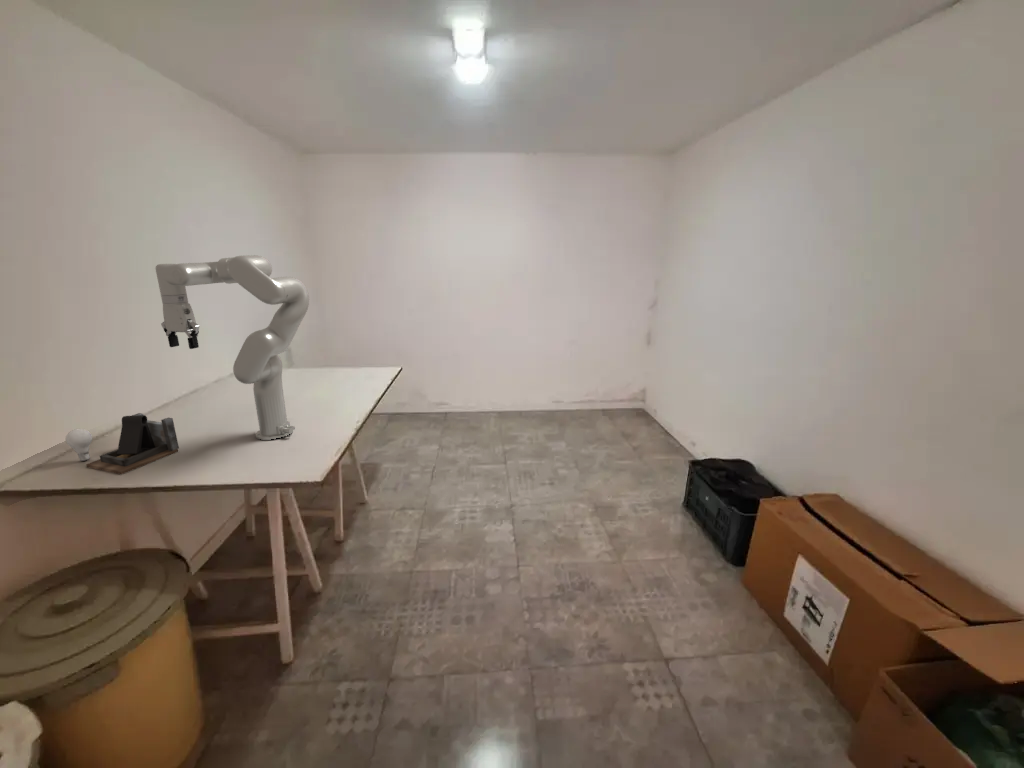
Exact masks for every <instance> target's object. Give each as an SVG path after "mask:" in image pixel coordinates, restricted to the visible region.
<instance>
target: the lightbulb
mask: <svg viewBox="0 0 1024 768" xmlns="http://www.w3.org/2000/svg"><path fill="white" fill-rule="evenodd" d="M92 441H93V435H92V433H91V432H90V431H89V430H88V429H85V428H75V429H72V430H70V431H68V433H67V434H66V436H65V443H66V444H67V446H69V447H70V448H71V449H73V450H74V452H75V453H76V454H77V456H78V459H79V461H81V462H86V460H87V461H89V460H90V459H91V457H90V452H89V451H90V445H91V443H92Z"/></svg>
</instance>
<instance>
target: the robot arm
mask: <svg viewBox="0 0 1024 768" xmlns="http://www.w3.org/2000/svg"><path fill="white" fill-rule="evenodd" d="M272 272H273V266H272V264H271V262H270V261H269V260H268V259H267V258H266V257H263V256H261V255H255V254H254V255H252V254H251V255H237V256H234V257H224V258H220V259H219V260H218V261H209V262H188V263H187V262H185V263H184V262H183V263H160V264H156V265H155V273H156V277H157V278H156V279H157V282H158V283H157V284H158V289H159V293H160V298H161V303H162V314H163V321H162V323H160V324H161V327H162V329H163V332H165V336H166V337H167V340H168V341H167V342H168V344H169V347H170V348H174V347H175V348H176V347H178V346H180V341H179V337H178V334H177V333H185V334H186V336H187V343H188V348H189V349H190V350H192V349H198V348H200V347H199V341H198V337H199V333H200V332H199V331H200V325H199V324H197V323H196V318H195V314H194V311H193V309H192V305H191V304H190V303H189V298H188V295H187V289H186V287H190V286H200V285H210V284H211V285H212V284H223V283H225V284H228V285H231V284H237V285H239V286H241V287H242V288H243V289H245V290H246V292H249V294H251V295H252V296H253V297H254V298H256V299H258V300H259V301H260V302H262V303H265V304H266V305H271V306H272V305H279V304H280V305H281V306H279V308H278V309H277V311H275V312H274V314H273V317H272V319H271V321H270V322H269V324H268V326H266V327H265V328H263V329H259V330H256V331H254V332H252V333H250V334H249V335H248V336H247V337H246V339H245V340H244V342H243V344H242V346H241V348H240V350H239V351H238V354H237V357H236V358H235V360H234V363H233V367H232V370H233V375H234V377H235V379H236V380H237V381H238V382H239V383H242V384H245V385H251V384H253V387H252V389H253V396H254V403H255V410H256V416H257V421H258V426H259V427H258V428H259V429H258V431H256V433H255V438H256V439H257V440H260V439H261V440H262V441H272V440H271V439H274V440H277V439H276V438H280V439H282V438H281V437H283V438H285V437H284V436H286V435H288V436H290V435H292V434H291V433H294V431H295V429H296V427H295V425H294V426H293V425H291V424H290V422H291V421H289V420H288V418H287V416H288V415H287V410H286V409H287V408H286V403H285V402H286V401H285V395H284V388H283V361H282V359H281V357H280V355H279V354H282V353H284V352H286V351H287V349H289V347H290V345H291V343H292V342H293V339H294V337H295V335H296V333H297V332H298V329H299V327H300V325H301V323H302V321H303V320H304V318H305V315H306V314H307V312H308V309H309V306H310V295H309V292H308V289H307V287H306V285H305V284H304V283H303V281H302V280H300V279H298V278H296V277H293V276H279V277H271V275H272ZM289 434H290V435H289ZM286 437H287V436H286Z"/></svg>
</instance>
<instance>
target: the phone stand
mask: <svg viewBox="0 0 1024 768" xmlns="http://www.w3.org/2000/svg"><path fill="white" fill-rule="evenodd" d="M147 420H148V417H147V416H146V415H145V414H144V415H139V416H132V415H125V416H122V418H121V429H120V436H119V439H118V440H119V441H118V447H117V449H118V451H117V455H128V454H139V453H142V452H145V451H147V450H150V449H153V448H155V445H154V442H153V439H152V436H151V433H150V430H149V427H148V424H147Z"/></svg>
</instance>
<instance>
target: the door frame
mask: <svg viewBox="0 0 1024 768" xmlns="http://www.w3.org/2000/svg"><path fill="white" fill-rule="evenodd" d="M139 415H145V414H144V413H141V412H138V413H135V414H132V415H131V416H139ZM147 424H148V427H149V430H150V433H151V436H152V439H153V442H154V445H155V448H153V449H150V450H147V451H145V452H142V453H139V454H128V455H117V451H118V448H117V449H114V450H112V451H109V452H107V453H103V454H101V455H99V459H97V460H94V461H91V462H89V463H86V468H89V469H95V470H99V471H103V472H108V473H112V474H116V475H120V476H121V475H124V474H127V473H129V472H131V471H133V470H137V469H139V468H141V467H144V466H146V465H149V464H151V463H153V462H154V463H155V462H156V461H158V460H162V459H164V458H166V457H168V456H171V455H173V454H176V453H178V451H179V449H180V446H179V443H178V442H179V441H178V437H177V433H176V428H175V424H174V419H173V418H172V417H166V418H162V419H160V421H157V420H156V421H155V420H149V419H147Z"/></svg>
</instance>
